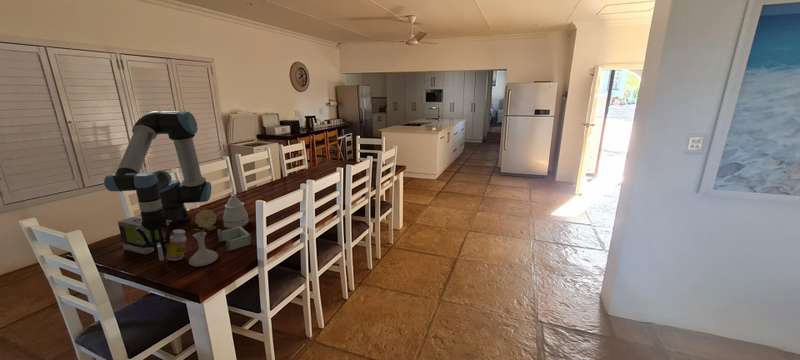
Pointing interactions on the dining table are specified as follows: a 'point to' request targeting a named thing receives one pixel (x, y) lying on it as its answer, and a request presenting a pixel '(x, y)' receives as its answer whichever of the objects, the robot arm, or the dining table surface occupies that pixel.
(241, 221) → the honey pot
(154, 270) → the dining table surface
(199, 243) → the flower in vase
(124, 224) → the tea box
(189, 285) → the dining table surface
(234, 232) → the open rectangular box
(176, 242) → the supplement bottle
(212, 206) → the dining table surface
